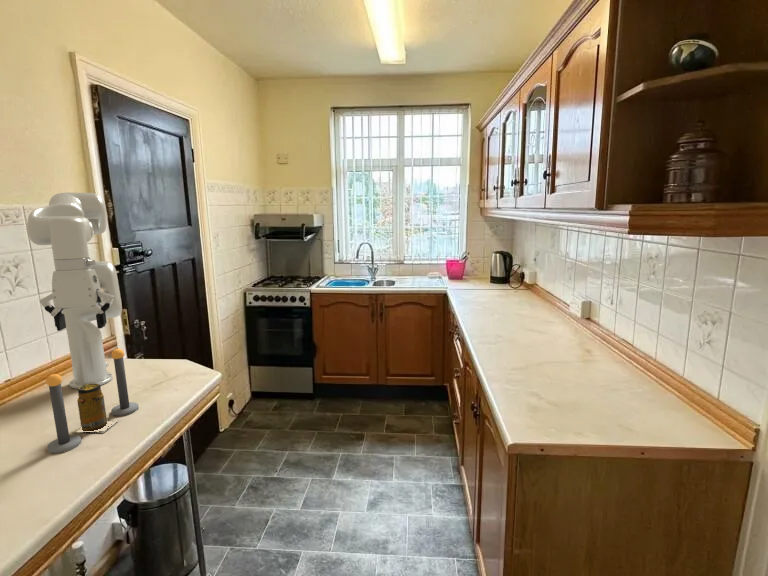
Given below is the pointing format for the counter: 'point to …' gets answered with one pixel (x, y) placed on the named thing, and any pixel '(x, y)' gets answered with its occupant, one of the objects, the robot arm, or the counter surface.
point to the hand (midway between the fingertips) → (81, 328)
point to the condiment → (92, 408)
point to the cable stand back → (122, 387)
